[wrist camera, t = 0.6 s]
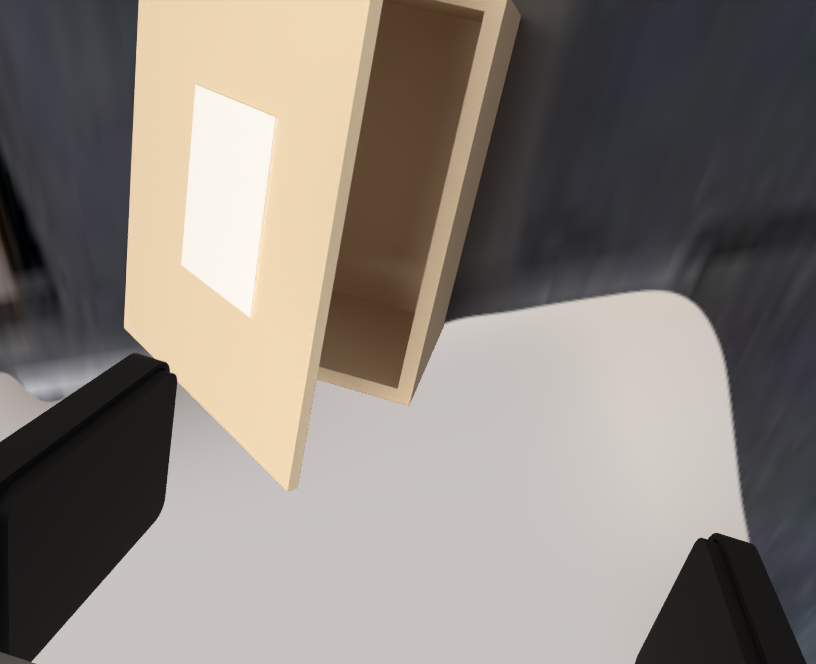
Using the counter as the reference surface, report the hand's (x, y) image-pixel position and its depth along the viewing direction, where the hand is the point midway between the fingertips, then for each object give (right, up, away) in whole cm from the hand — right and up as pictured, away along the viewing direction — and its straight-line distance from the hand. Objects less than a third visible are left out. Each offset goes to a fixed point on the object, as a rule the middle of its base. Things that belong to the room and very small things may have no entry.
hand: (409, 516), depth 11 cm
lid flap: (-8, +9, +18) cm, 21 cm away
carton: (-4, +13, +33) cm, 36 cm away
